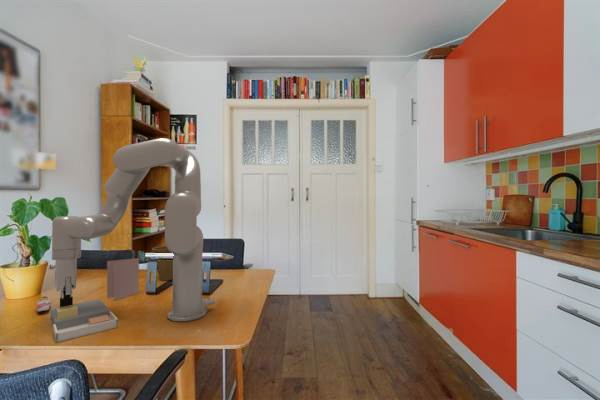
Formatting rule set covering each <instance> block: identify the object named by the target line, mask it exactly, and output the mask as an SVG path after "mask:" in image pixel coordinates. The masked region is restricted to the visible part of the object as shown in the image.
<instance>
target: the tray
mask: <svg viewBox="0 0 600 400" xmlns="http://www.w3.org/2000/svg"><path fill="white" fill-rule="evenodd" d="M110 319H111V320H110V321H106V322H102V323H98V324H93V325H89V326H88V323H87V324H82V325H78V326H74V327H70V328H65V329H61V330H57V328H56V324H53V323H52V334H53V338H54V341H55V343H56V344H57V343H61V342H64V341H69V340H74V339H76V338H81V337H85V336H90V335H94V334H96V333H97V334H98V333H101V332H104V331H108V330H113V329H116V327H117V328H119V319H118V317H117V316H116V315H115V314H114V313H113V312H112V311H110ZM112 328H113V329H112Z"/></svg>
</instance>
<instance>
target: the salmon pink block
mask: <svg viewBox="0 0 600 400" xmlns="http://www.w3.org/2000/svg"><path fill="white" fill-rule="evenodd" d="M110 320H111V319H110V317H109V316H108V315H103V316H99V317H94V318H90V319H88V326H89V325H93V324H98V323H102V322H106V321H110Z"/></svg>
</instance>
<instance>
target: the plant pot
mask: <svg viewBox="0 0 600 400" xmlns="http://www.w3.org/2000/svg"><path fill="white" fill-rule="evenodd" d="M153 253H171V252H170V251H169V250H168V249H167V247H166V245H163V246H156V247H152V254H153ZM156 272H157V274H158V277H159V280H160V281H163V282H165V281H173V280H172V279H173V261H167V260H160V261H158V271H157V270H156Z"/></svg>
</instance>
